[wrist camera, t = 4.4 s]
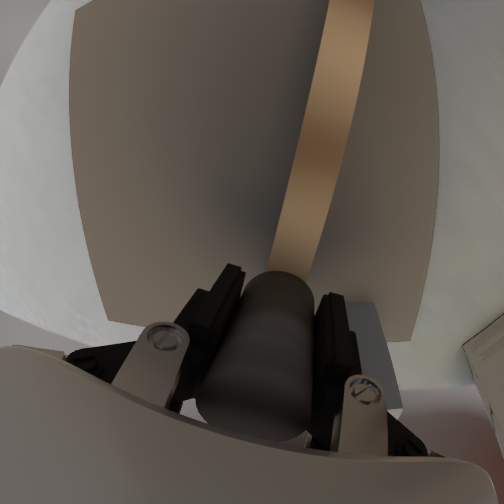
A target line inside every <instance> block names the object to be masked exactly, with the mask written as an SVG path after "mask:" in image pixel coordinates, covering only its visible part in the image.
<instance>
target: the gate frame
mask: <svg viewBox="0 0 504 504" xmlns="http://www.w3.org/2000/svg"><path fill="white" fill-rule="evenodd" d="M345 305H346V311H347V317H348V323H349V330H351V331H354V332H355V333H356V337H357V343H358V349H359V355H360V362H361V368H362V375H366V376H368V377H371V378H373V379H374V380H376V381H377V382H378V383H379V384H380V385H381V386H382V387H383V389H384V391H385V394H386V406H387V411H388V412H389V413H390V414H391V415H392V416H393V417H395V418H396V419H397V420H398V418H399V416H400V414H401V411H402V409H403V406H402V401H401V397H400V393H399V388H398V384H397V380H396V376H395V372H394V368H393V365H392V361H391V357H390V354H389V350H388V347H387V343H386V340H385V336H384V333H383V330H382V326H381V323H380V320H379V317H378V314H377V311H376V308H375V305H374V302H345Z"/></svg>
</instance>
